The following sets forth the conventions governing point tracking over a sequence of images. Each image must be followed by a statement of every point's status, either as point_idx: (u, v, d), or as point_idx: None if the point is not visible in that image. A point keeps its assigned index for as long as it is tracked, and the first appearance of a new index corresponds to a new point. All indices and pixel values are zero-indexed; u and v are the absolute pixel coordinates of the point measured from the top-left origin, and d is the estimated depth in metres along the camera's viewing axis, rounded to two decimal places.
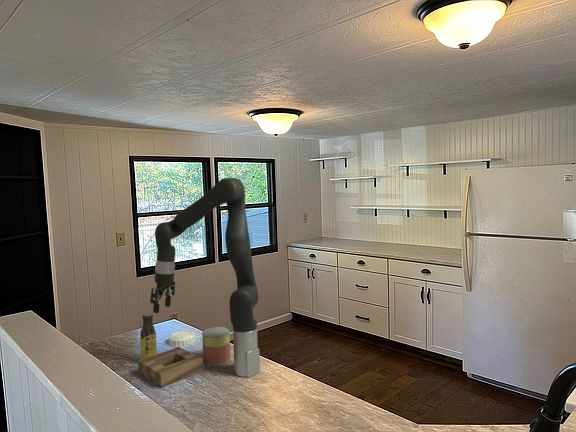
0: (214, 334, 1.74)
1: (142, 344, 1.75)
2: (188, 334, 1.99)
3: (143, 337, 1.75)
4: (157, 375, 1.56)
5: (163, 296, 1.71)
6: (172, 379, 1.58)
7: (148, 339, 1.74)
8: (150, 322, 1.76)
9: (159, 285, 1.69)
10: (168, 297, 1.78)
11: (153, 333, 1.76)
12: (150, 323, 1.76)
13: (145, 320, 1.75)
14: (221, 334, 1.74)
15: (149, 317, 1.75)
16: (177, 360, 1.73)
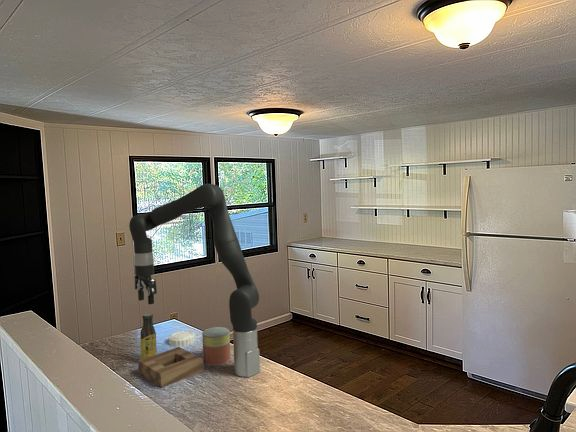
0: (214, 334, 1.74)
1: (142, 344, 1.75)
2: (188, 334, 1.99)
3: (143, 337, 1.75)
4: (157, 375, 1.56)
5: None
6: (172, 379, 1.58)
7: (148, 339, 1.74)
8: (150, 322, 1.76)
9: (149, 276, 1.73)
10: (141, 290, 1.79)
11: (153, 333, 1.76)
12: (150, 323, 1.76)
13: (145, 320, 1.75)
14: (221, 334, 1.74)
15: (149, 317, 1.75)
16: (177, 360, 1.73)
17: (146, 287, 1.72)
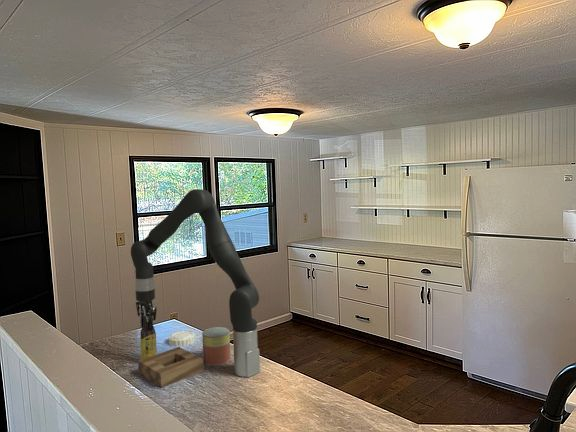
0: (214, 334, 1.74)
1: (142, 344, 1.75)
2: (188, 334, 1.99)
3: (143, 337, 1.75)
4: (157, 375, 1.56)
5: None
6: (172, 379, 1.58)
7: (148, 339, 1.74)
8: None
9: (150, 301, 1.74)
10: None
11: (153, 333, 1.76)
12: None
13: (145, 320, 1.75)
14: (221, 334, 1.74)
15: None
16: (177, 360, 1.73)
17: (146, 313, 1.74)
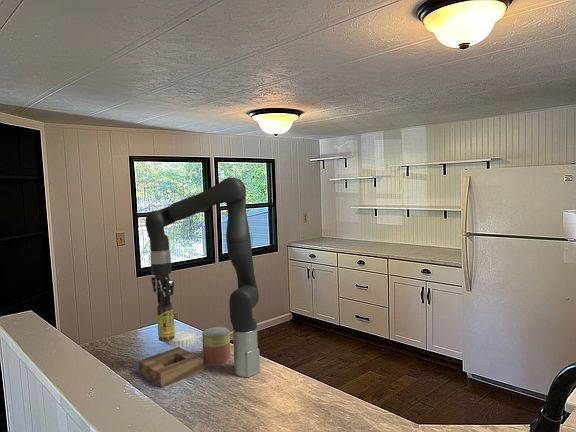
0: (214, 334, 1.74)
1: (159, 321, 1.65)
2: (188, 334, 1.99)
3: (160, 313, 1.65)
4: (157, 375, 1.56)
5: None
6: (172, 379, 1.58)
7: (166, 316, 1.65)
8: None
9: (167, 275, 1.64)
10: None
11: (171, 309, 1.66)
12: None
13: (162, 295, 1.66)
14: (221, 334, 1.74)
15: None
16: (177, 360, 1.73)
17: (163, 288, 1.64)
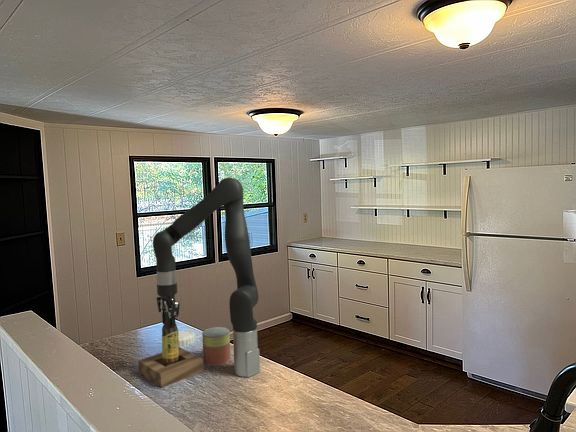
0: (214, 334, 1.74)
1: (164, 342, 1.64)
2: (188, 334, 1.99)
3: (165, 334, 1.63)
4: (157, 375, 1.56)
5: None
6: (172, 379, 1.58)
7: (170, 337, 1.63)
8: None
9: (173, 296, 1.63)
10: None
11: (175, 330, 1.65)
12: None
13: (167, 316, 1.64)
14: (221, 334, 1.74)
15: None
16: (177, 360, 1.73)
17: (168, 309, 1.62)
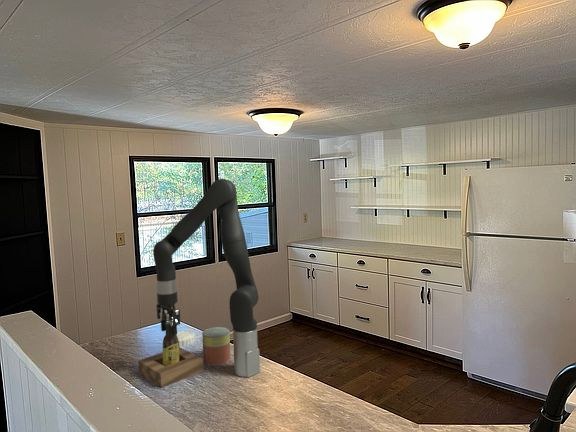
0: (214, 334, 1.74)
1: (165, 354, 1.64)
2: (188, 334, 1.99)
3: (165, 346, 1.64)
4: (157, 375, 1.56)
5: None
6: (172, 379, 1.58)
7: (171, 349, 1.64)
8: None
9: (173, 305, 1.63)
10: (164, 320, 1.68)
11: (176, 342, 1.65)
12: None
13: (168, 328, 1.64)
14: (221, 334, 1.74)
15: None
16: None
17: (169, 317, 1.62)
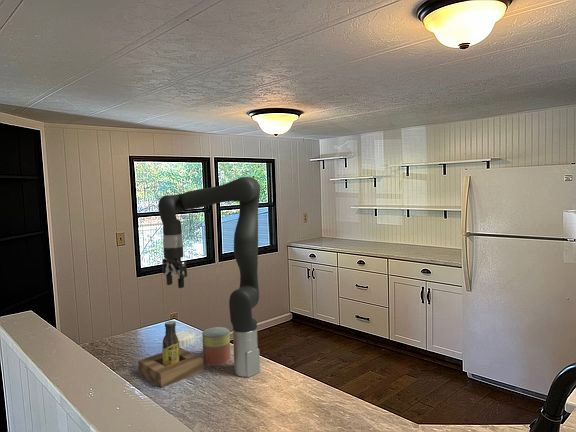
0: (214, 334, 1.74)
1: (165, 354, 1.64)
2: (188, 334, 1.99)
3: (165, 346, 1.64)
4: (157, 375, 1.56)
5: None
6: (172, 379, 1.58)
7: (171, 349, 1.64)
8: (173, 331, 1.65)
9: (179, 259, 1.67)
10: (169, 274, 1.72)
11: (176, 342, 1.65)
12: (173, 332, 1.65)
13: (168, 328, 1.64)
14: (221, 334, 1.74)
15: (172, 325, 1.65)
16: None
17: (176, 270, 1.66)
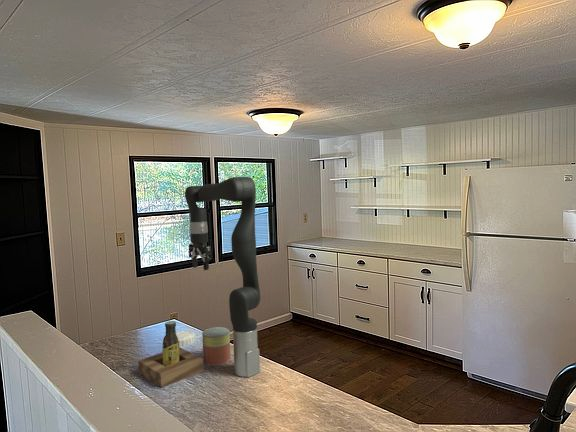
0: (214, 334, 1.74)
1: (165, 354, 1.64)
2: (188, 334, 1.99)
3: (165, 346, 1.64)
4: (157, 375, 1.56)
5: None
6: (172, 379, 1.58)
7: (171, 349, 1.64)
8: (173, 331, 1.65)
9: (204, 244, 1.84)
10: (195, 258, 1.90)
11: (176, 342, 1.65)
12: (173, 332, 1.65)
13: (168, 328, 1.64)
14: (221, 334, 1.74)
15: (172, 325, 1.65)
16: None
17: (202, 254, 1.83)
